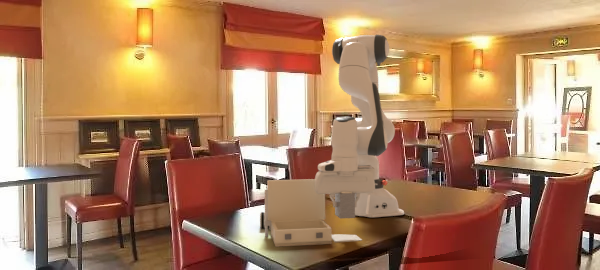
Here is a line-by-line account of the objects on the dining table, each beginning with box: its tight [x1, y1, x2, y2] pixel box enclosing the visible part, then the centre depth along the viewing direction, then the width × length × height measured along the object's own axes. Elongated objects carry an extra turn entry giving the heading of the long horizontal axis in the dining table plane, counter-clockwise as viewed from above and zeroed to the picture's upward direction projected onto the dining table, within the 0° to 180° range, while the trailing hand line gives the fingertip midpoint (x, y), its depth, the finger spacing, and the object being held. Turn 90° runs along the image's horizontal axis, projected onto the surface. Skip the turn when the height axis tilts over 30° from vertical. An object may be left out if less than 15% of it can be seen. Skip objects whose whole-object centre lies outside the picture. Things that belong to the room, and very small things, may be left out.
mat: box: [332, 233, 363, 243], centre depth 153 cm, size 9×9×1 cm
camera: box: [259, 211, 271, 231], centre depth 169 cm, size 16×9×10 cm, turn 2°
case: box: [264, 178, 333, 248], centre depth 151 cm, size 21×15×19 cm
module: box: [334, 192, 356, 219], centre depth 153 cm, size 5×7×8 cm
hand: (344, 206), depth 153 cm, fingers closed on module, 5 cm apart
